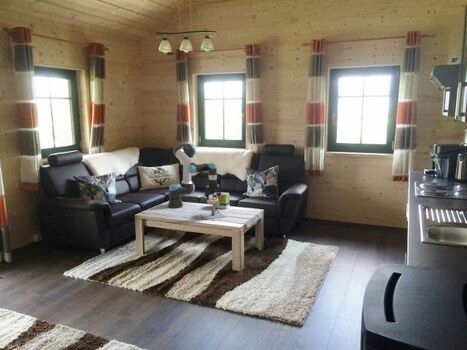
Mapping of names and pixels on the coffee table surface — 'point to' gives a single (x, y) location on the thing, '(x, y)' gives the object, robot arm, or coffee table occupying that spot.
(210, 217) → the post base
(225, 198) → the tea box
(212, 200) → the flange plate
